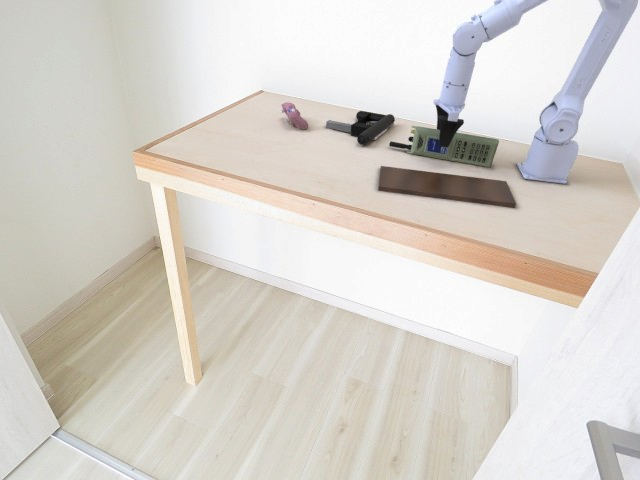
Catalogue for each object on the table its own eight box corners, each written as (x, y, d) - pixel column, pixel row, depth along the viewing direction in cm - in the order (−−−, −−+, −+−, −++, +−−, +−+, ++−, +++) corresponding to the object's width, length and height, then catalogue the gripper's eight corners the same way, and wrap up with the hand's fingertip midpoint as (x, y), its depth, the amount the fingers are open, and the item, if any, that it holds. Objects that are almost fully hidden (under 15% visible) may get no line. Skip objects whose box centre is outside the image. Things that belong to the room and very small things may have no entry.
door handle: (315, 125, 110) (371, 136, 103) (349, 105, 124) (400, 114, 117) (315, 137, 112) (370, 149, 105) (348, 116, 126) (399, 126, 119)
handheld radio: (490, 169, 100) (387, 151, 105) (490, 164, 102) (389, 146, 107) (499, 142, 96) (391, 124, 101) (498, 138, 99) (394, 121, 104)
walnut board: (505, 184, 93) (506, 181, 93) (514, 207, 85) (516, 203, 85) (380, 169, 96) (380, 165, 96) (378, 190, 88) (378, 186, 87)
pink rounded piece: (287, 123, 121) (276, 101, 116) (300, 115, 120) (290, 93, 116) (295, 136, 113) (284, 114, 109) (310, 128, 113) (299, 105, 108)
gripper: (436, 72, 99) (424, 127, 107) (440, 89, 88) (427, 150, 96) (466, 75, 99) (452, 130, 107) (474, 93, 87) (458, 153, 95)
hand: (442, 140), depth 101 cm, fingers open, 7 cm apart
